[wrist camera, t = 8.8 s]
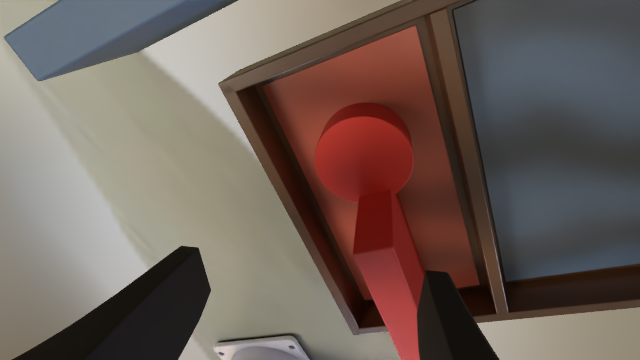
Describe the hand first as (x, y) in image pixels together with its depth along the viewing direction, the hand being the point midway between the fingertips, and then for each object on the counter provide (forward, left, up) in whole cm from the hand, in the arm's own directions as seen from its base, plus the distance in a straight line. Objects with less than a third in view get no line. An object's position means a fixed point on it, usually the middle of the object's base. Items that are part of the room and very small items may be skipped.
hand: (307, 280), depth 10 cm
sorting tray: (-3, -6, -8) cm, 11 cm away
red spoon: (-4, -2, -8) cm, 9 cm away
